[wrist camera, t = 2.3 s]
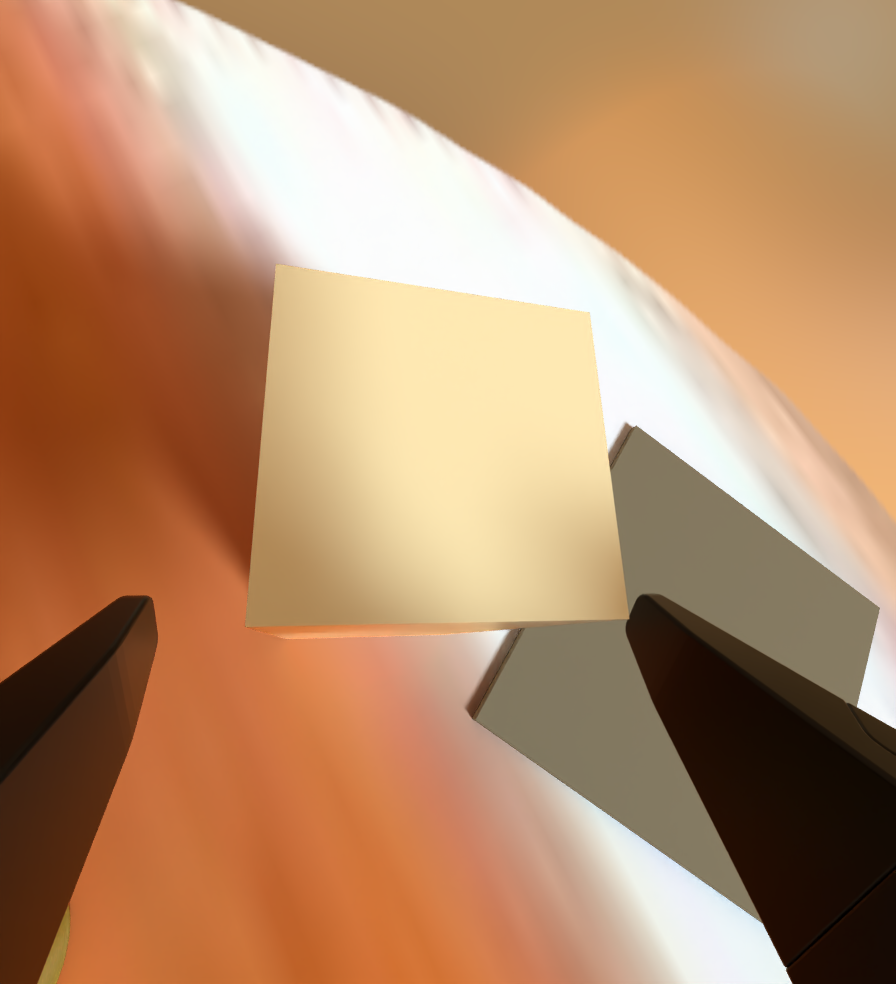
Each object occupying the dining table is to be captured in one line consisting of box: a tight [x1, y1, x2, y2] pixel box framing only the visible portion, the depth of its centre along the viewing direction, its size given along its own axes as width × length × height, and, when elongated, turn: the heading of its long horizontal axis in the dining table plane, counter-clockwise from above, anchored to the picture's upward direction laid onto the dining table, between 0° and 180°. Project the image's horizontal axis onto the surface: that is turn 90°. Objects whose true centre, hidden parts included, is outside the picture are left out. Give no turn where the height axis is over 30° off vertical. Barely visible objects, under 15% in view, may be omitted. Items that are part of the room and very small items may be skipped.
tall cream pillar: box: [245, 264, 629, 639], centre depth 13 cm, size 6×6×12 cm
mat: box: [472, 426, 880, 923], centre depth 21 cm, size 15×15×1 cm
